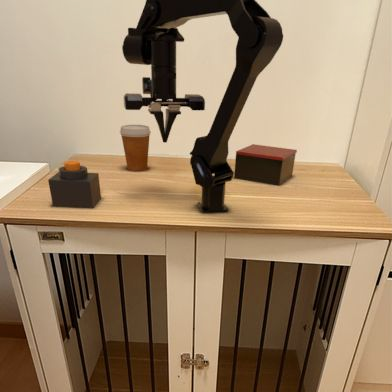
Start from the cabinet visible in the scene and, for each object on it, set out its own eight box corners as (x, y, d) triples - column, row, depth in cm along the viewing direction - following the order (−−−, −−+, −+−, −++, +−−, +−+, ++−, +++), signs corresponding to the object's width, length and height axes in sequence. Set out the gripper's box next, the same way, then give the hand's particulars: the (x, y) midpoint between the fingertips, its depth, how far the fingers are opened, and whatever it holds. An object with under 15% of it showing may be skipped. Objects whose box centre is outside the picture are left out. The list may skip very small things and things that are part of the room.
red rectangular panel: (252, 146, 132) (252, 144, 131) (296, 152, 126) (297, 149, 126) (235, 154, 122) (236, 151, 121) (282, 160, 117) (283, 157, 116)
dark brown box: (249, 169, 135) (251, 147, 131) (292, 176, 130) (295, 153, 126) (234, 178, 126) (235, 154, 122) (279, 185, 121) (282, 160, 117)
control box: (101, 198, 106) (97, 165, 102) (93, 208, 100) (88, 173, 95) (63, 196, 107) (57, 163, 102) (52, 206, 100) (46, 171, 96)
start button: (82, 168, 100) (81, 161, 99) (78, 172, 97) (77, 164, 96) (68, 168, 100) (66, 160, 99) (63, 171, 97) (62, 163, 96)
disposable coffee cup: (157, 170, 131) (156, 128, 124) (130, 173, 127) (127, 130, 120) (143, 163, 138) (141, 123, 130) (117, 167, 133) (114, 125, 126)
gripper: (196, 65, 101) (194, 136, 110) (119, 63, 97) (124, 136, 107) (206, 68, 92) (203, 144, 101) (123, 66, 88) (128, 145, 98)
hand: (164, 142), depth 102 cm, fingers closed
